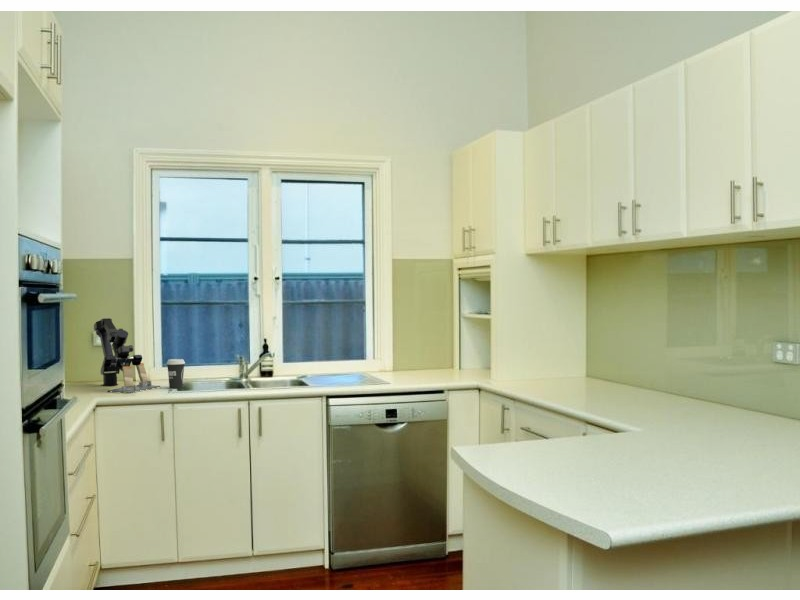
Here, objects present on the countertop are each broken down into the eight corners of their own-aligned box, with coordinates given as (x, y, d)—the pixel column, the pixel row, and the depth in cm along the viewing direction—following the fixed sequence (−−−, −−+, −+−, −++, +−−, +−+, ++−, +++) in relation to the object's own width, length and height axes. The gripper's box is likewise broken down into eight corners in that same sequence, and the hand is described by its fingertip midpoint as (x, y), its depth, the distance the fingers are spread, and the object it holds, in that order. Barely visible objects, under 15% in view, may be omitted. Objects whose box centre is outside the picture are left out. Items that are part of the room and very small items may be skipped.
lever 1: (124, 387, 340) (122, 367, 342) (132, 386, 342) (130, 367, 345) (125, 386, 338) (123, 366, 341) (133, 385, 341) (131, 366, 344)
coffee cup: (170, 386, 360) (169, 358, 360) (187, 386, 360) (187, 358, 360) (163, 389, 351) (163, 360, 351) (182, 389, 351) (181, 360, 351)
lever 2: (140, 383, 355) (135, 364, 356) (146, 382, 359) (140, 363, 360) (143, 382, 354) (137, 363, 355) (148, 381, 358) (143, 362, 359)
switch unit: (107, 392, 341) (107, 385, 341) (139, 386, 362) (139, 380, 362) (129, 393, 336) (129, 387, 336) (160, 387, 357) (160, 381, 357)
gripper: (104, 341, 342) (110, 364, 333) (141, 339, 354) (148, 361, 345) (99, 355, 348) (106, 378, 339) (136, 353, 360) (143, 375, 351)
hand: (126, 373), depth 344 cm, fingers closed
